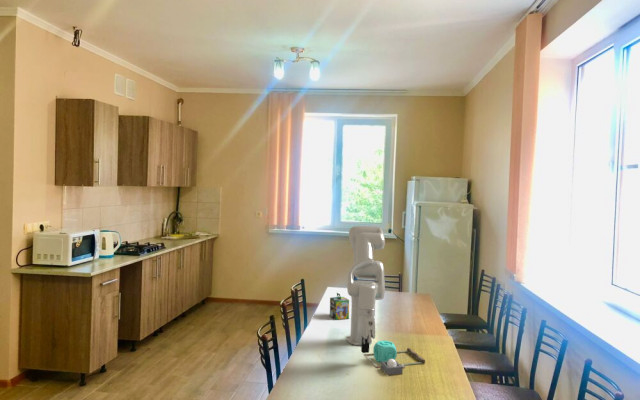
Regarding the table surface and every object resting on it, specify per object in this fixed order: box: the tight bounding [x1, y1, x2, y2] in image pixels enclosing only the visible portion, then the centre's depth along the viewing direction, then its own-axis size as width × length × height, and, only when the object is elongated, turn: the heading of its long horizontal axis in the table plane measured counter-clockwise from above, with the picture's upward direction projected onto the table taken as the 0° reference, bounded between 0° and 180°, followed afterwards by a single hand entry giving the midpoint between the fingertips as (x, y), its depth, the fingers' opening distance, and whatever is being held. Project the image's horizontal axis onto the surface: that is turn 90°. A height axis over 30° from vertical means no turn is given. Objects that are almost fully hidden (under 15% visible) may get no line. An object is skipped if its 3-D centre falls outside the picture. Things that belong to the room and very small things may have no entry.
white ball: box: [387, 359, 397, 367], centre depth 194 cm, size 4×4×4 cm
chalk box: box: [329, 292, 350, 321], centre depth 269 cm, size 9×9×15 cm
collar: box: [380, 359, 404, 376], centre depth 194 cm, size 7×7×3 cm
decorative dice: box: [372, 340, 398, 364], centre depth 206 cm, size 8×8×8 cm
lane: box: [363, 347, 426, 369], centre depth 207 cm, size 20×24×2 cm
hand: (365, 352), depth 202 cm, fingers closed
